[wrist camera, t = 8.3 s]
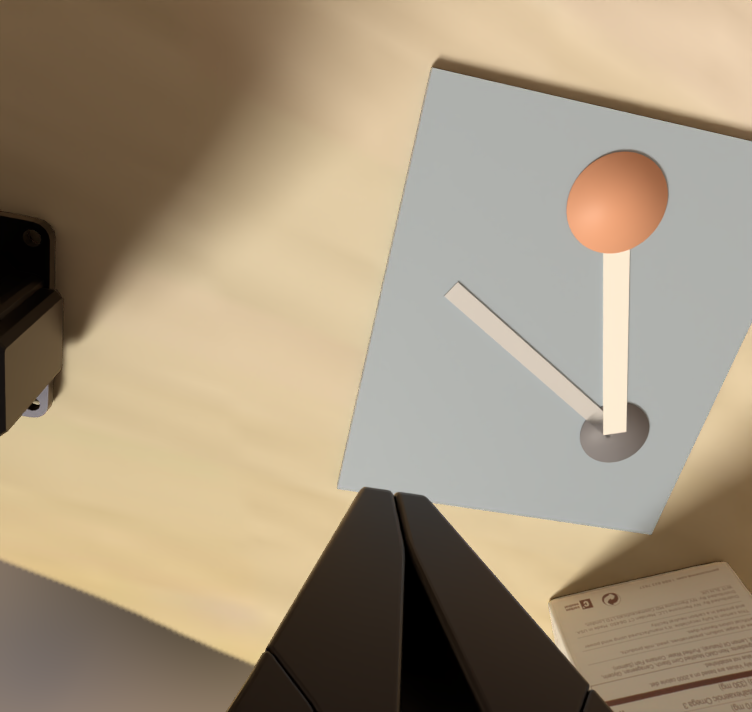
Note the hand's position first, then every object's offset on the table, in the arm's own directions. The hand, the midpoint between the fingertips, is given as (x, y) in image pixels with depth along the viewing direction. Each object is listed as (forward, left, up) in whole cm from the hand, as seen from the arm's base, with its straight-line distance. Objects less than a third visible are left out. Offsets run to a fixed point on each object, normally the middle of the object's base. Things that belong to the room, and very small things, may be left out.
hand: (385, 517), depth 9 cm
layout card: (+7, -2, -13) cm, 15 cm away
